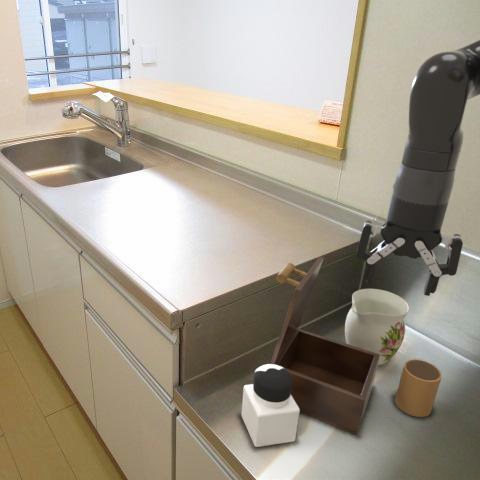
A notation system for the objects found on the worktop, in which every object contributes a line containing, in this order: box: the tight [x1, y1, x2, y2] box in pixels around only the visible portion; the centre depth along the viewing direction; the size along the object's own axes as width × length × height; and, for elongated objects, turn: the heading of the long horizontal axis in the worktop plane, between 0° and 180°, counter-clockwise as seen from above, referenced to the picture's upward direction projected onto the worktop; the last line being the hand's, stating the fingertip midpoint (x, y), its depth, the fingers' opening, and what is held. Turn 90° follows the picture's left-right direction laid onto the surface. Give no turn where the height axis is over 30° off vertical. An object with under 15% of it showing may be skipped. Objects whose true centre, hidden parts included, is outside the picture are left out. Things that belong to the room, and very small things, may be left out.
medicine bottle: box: [241, 363, 301, 448], centre depth 75 cm, size 7×7×12 cm
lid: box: [269, 256, 324, 364], centre depth 82 cm, size 16×14×5 cm
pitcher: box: [344, 288, 410, 366], centre depth 92 cm, size 11×18×14 cm, turn 122°
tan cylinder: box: [394, 358, 443, 418], centre depth 80 cm, size 6×6×8 cm
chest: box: [274, 327, 380, 436], centre depth 83 cm, size 16×14×8 cm
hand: (397, 287), depth 74 cm, fingers open, 8 cm apart
